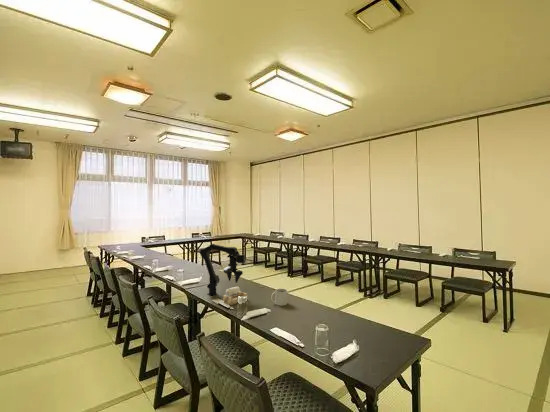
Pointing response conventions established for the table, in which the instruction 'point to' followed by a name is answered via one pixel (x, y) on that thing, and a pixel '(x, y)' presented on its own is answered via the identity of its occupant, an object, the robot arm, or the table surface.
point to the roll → (232, 291)
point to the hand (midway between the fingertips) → (232, 281)
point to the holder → (233, 298)
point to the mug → (280, 297)
